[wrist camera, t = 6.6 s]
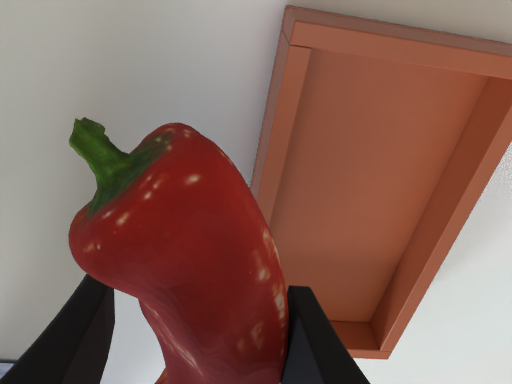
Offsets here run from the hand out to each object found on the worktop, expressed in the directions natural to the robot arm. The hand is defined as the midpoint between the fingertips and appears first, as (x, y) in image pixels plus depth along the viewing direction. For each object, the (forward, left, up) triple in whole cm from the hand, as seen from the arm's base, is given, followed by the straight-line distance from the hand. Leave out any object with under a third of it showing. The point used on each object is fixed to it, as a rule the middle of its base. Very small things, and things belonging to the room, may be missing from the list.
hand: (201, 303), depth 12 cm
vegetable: (0, 0, -2) cm, 2 cm away
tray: (-2, -7, -8) cm, 11 cm away
